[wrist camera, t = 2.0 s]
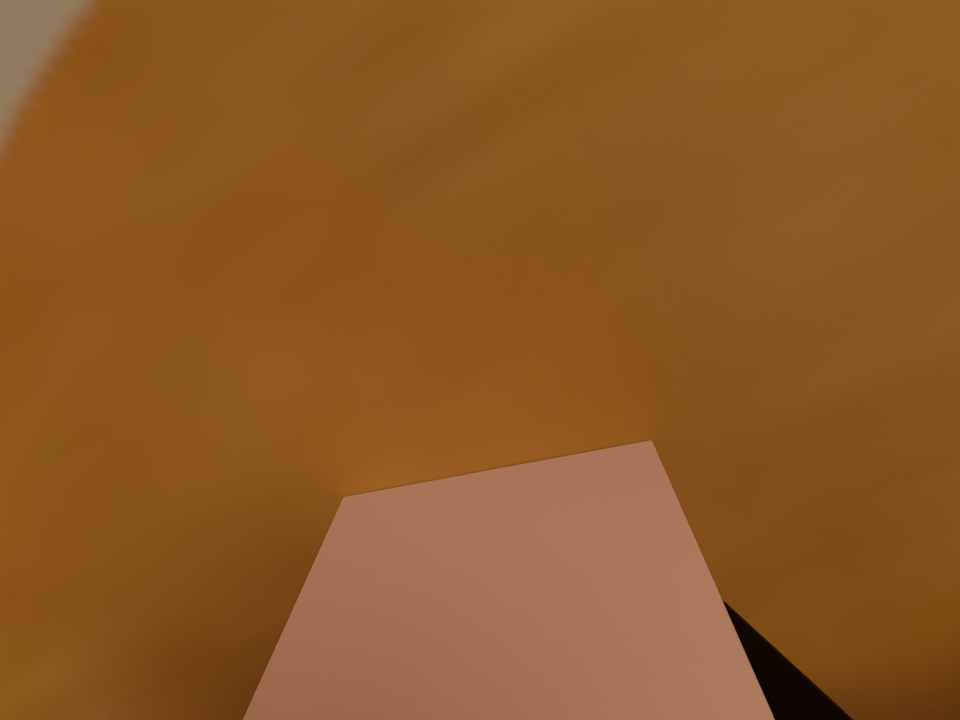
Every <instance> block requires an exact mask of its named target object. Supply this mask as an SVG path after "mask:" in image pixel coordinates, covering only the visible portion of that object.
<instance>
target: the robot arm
mask: <svg viewBox="0 0 960 720" xmlns="http://www.w3.org/2000/svg"><path fill="white" fill-rule="evenodd" d="M722 601H723V600H722ZM723 603H724V606H725V608H726V610H727V612H728V615H729V617H730V619H731V622H732V624H733V626H734V628H735V631H736V633H737V635H738V637H739V640H740V642H741V644H742V646H743V649H744V651H745V653H746V656H747V658H748V660H749V662H750V665H751V667H752V669H753V671H754V674H755V676H756V678H757V680H758V683H759V685H760V687H761V690H762V692H763V694H764V696H765V699H766V701H767V703H768V705H769V708H770V710H771V712H772V714H773V717H774V719H775V720H853V719H852V718H851V717H850V716H849V715H848V714H847V713H846V712H845V711H844V710H842V709H841V708H840V707H839V706H838V705H837V704H836V703H835V702H834V701H833V700H831V699H830V698H829V697H828V696H827V695H826V694H825V693H824V692H823V691H822V690H821V689H819V688H818V687H817V686H816V685H815V684H814V683H813V682H812V681H811V680H810V679H809V678H807V677H806V676H805V675H804V674H803V673H802V672H801V671H800V670H799V669H798V668H797V667H795V666H794V665H793V664H792V663H791V662H790V661H789V660H788V659H787V658H786V657H785V656H783V655H782V654H781V653H780V652H779V651H778V650H777V649H776V648H775V647H774V646H773V645H771V644H770V643H769V642H768V641H767V640H766V639H765V638H764V637H763V636H762V635H761V634H759V633H758V632H757V631H756V630H755V629H754V628H753V627H752V626H751V625H750V624H749V623H747V622H746V621H745V620H744V619H743V618H742V617H741V616H740V615H739V614H738V613H737V612H735V611H734V610H733V609H732V608H731V607H730V606H729V605H728V604H727V603H726V602H724V601H723Z"/></svg>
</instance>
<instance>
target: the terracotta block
mask: <svg viewBox="0 0 960 720" xmlns="http://www.w3.org/2000/svg"><path fill="white" fill-rule="evenodd" d="M243 720H775V719H774V717H773V714H772V712H771V710H770V708H769V705H768V703H767V701H766V699H765V696H764V694H763V692H762V690H761V687H760V685H759V683H758V680H757V678H756V676H755V674H754V671H753V669H752V667H751V665H750V662H749V660H748V658H747V656H746V653H745V651H744V649H743V646H742V644H741V642H740V640H739V637H738V635H737V633H736V631H735V628H734V626H733V624H732V622H731V619H730V617H729V615H728V612H727V610H726V608H725V606H724V603H723V601H722V599H721V597H720V594H719V592H718V590H717V588H716V585H715V583H714V581H713V578H712V576H711V574H710V572H709V569H708V567H707V565H706V563H705V560H704V558H703V556H702V554H701V551H700V549H699V547H698V544H697V542H696V540H695V538H694V535H693V533H692V531H691V529H690V526H689V524H688V522H687V520H686V517H685V515H684V513H683V510H682V508H681V506H680V504H679V501H678V499H677V497H676V495H675V492H674V490H673V488H672V486H671V483H670V481H669V479H668V476H667V474H666V472H665V470H664V467H663V465H662V463H661V461H660V458H659V456H658V454H657V452H656V449H655V447H654V445H653V442H652V440H650V441H645V442H640V443H634V444H629V445H623V446H618V447H612V448H607V449H602V450H596V451H591V452H585V453H580V454H575V455H569V456H564V457H558V458H553V459H547V460H542V461H537V462H531V463H526V464H520V465H515V466H509V467H504V468H499V469H493V470H488V471H482V472H477V473H472V474H466V475H461V476H455V477H450V478H444V479H439V480H434V481H428V482H423V483H417V484H412V485H407V486H401V487H396V488H390V489H385V490H379V491H374V492H369V493H363V494H358V495H352V496H347V497H343V500H342V502H341V504H340V506H339V508H338V511H337V513H336V515H335V517H334V520H333V522H332V524H331V526H330V528H329V531H328V533H327V535H326V537H325V539H324V542H323V544H322V546H321V548H320V550H319V553H318V555H317V557H316V559H315V561H314V564H313V566H312V568H311V570H310V573H309V575H308V577H307V579H306V581H305V584H304V586H303V588H302V590H301V592H300V595H299V597H298V599H297V601H296V603H295V606H294V608H293V610H292V612H291V614H290V617H289V619H288V621H287V623H286V625H285V628H284V630H283V632H282V634H281V637H280V639H279V641H278V643H277V645H276V648H275V650H274V652H273V654H272V656H271V659H270V661H269V663H268V665H267V667H266V670H265V672H264V674H263V676H262V678H261V681H260V683H259V685H258V687H257V689H256V692H255V694H254V696H253V698H252V701H251V703H250V705H249V707H248V709H247V712H246V714H245V716H244V718H243Z"/></svg>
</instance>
